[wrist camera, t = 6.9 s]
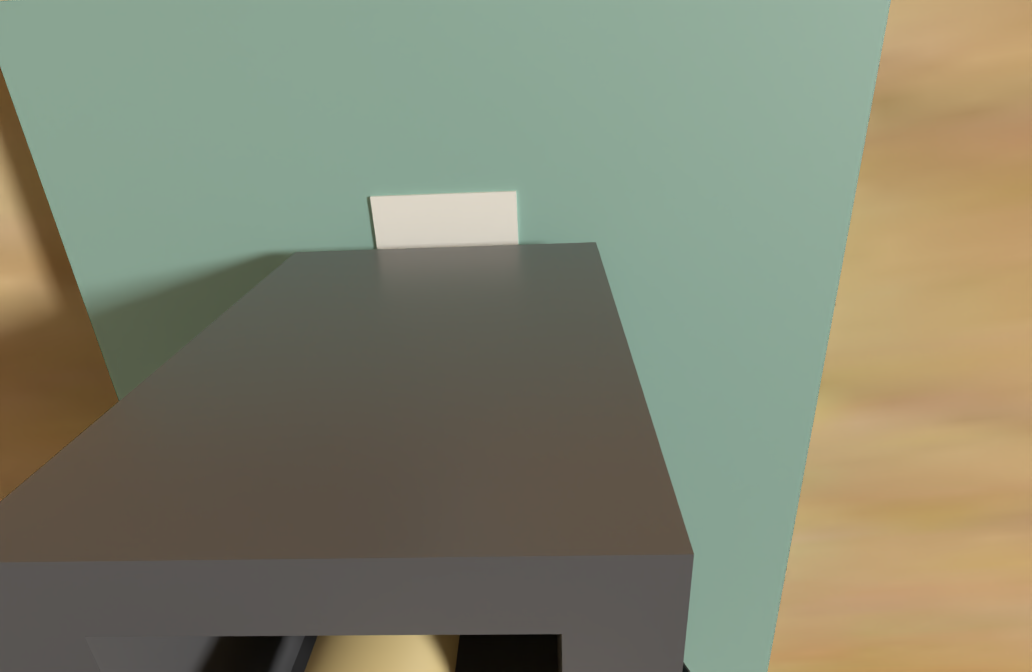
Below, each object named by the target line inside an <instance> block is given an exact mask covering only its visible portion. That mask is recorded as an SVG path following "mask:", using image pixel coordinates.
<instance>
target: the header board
mask: <svg viewBox="0 0 1032 672" xmlns="http://www.w3.org/2000/svg"><path fill="white" fill-rule="evenodd" d="M890 2H891V0H8V1H0V67H1V70H2V73H3V76H4V79H5V82H6V84H7V87H8V90H9V93H10V96H11V98H12V101H13V104H14V107H15V110H16V113H17V115H18V118H19V121H20V124H21V127H22V129H23V132H24V135H25V138H26V141H27V144H28V146H29V149H30V152H31V155H32V158H33V160H34V163H35V166H36V169H37V172H38V175H39V177H40V180H41V183H42V186H43V189H44V191H45V194H46V197H47V200H48V203H49V205H50V208H51V211H52V214H53V217H54V220H55V222H56V225H57V228H58V231H59V234H60V236H61V239H62V242H63V245H64V248H65V251H66V253H67V256H68V259H69V262H70V265H71V267H72V270H73V273H74V276H75V279H76V282H77V284H78V287H79V290H80V293H81V296H82V298H83V301H84V304H85V307H86V310H87V313H88V315H89V318H90V321H91V324H92V327H93V329H94V332H95V335H96V338H97V341H98V344H99V346H100V349H101V352H102V355H103V358H104V360H105V363H106V366H107V369H108V372H109V374H110V377H111V380H112V383H113V386H114V389H115V391H116V394H117V397H118V400H119V401H120V400H121V399H122V398H124V397H125V396H126V395H127V394H128V393H130V392H131V391H132V390H133V389H134V388H135V387H137V386H138V385H139V384H140V383H141V382H143V381H144V380H145V379H146V378H147V377H148V376H150V375H151V374H152V373H153V372H154V371H156V370H157V369H158V368H159V367H160V366H161V365H163V364H164V363H165V362H166V361H167V360H169V359H170V358H171V357H172V356H173V355H174V354H176V353H177V352H178V351H179V350H180V349H182V348H183V347H184V346H185V345H186V344H187V343H189V342H190V341H191V340H192V339H193V338H195V337H196V336H197V335H198V334H199V333H200V332H202V331H203V330H204V329H205V328H206V327H208V326H209V325H210V324H211V323H212V322H213V321H215V320H216V319H217V318H218V317H219V316H221V315H222V314H223V313H224V312H225V311H227V310H228V309H229V308H230V307H231V306H232V305H234V304H235V303H236V302H237V301H238V300H240V299H241V298H242V297H243V296H244V295H245V294H247V293H248V292H249V291H250V290H251V289H253V288H254V287H255V286H256V285H257V284H258V283H260V282H261V281H262V280H263V279H264V278H266V277H267V276H268V275H269V274H270V273H271V272H273V271H274V270H275V269H276V268H277V267H279V266H280V265H281V264H282V263H283V262H284V261H286V260H287V259H288V258H289V257H290V256H292V255H293V254H294V253H295V252H317V251H347V250H377V249H406V248H436V247H466V246H496V245H526V244H556V243H586V242H596V244H597V247H598V250H599V253H600V257H601V260H602V263H603V266H604V269H605V272H606V276H607V279H608V282H609V285H610V288H611V292H612V295H613V298H614V301H615V304H616V307H617V311H618V314H619V317H620V320H621V323H622V327H623V330H624V333H625V336H626V339H627V342H628V346H629V349H630V352H631V355H632V358H633V362H634V365H635V368H636V371H637V374H638V377H639V381H640V384H641V387H642V390H643V393H644V397H645V400H646V403H647V406H648V409H649V412H650V416H651V419H652V422H653V425H654V428H655V431H656V435H657V438H658V441H659V444H660V447H661V451H662V454H663V457H664V460H665V463H666V466H667V470H668V473H669V476H670V479H671V482H672V486H673V489H674V492H675V495H676V498H677V501H678V505H679V508H680V511H681V514H682V517H683V521H684V524H685V527H686V530H687V533H688V536H689V540H690V543H691V546H692V549H693V552H694V561H693V571H692V581H691V591H690V601H689V611H688V621H687V631H686V641H685V651H684V661H683V662H684V663H685V665H686V666H687V667H688V669H689V670H690V672H767V671H768V665H769V660H770V654H771V649H772V643H773V638H774V633H775V627H776V622H777V616H778V611H779V605H780V600H781V594H782V589H783V584H784V578H785V573H786V567H787V562H788V556H789V551H790V546H791V540H792V535H793V529H794V524H795V518H796V513H797V507H798V502H799V497H800V491H801V486H802V480H803V475H804V469H805V464H806V459H807V453H808V448H809V442H810V437H811V431H812V426H813V420H814V415H815V410H816V404H817V399H818V393H819V388H820V382H821V377H822V372H823V366H824V361H825V355H826V350H827V344H828V339H829V333H830V328H831V323H832V317H833V312H834V306H835V301H836V295H837V290H838V285H839V279H840V274H841V268H842V263H843V257H844V252H845V246H846V241H847V236H848V230H849V225H850V219H851V214H852V208H853V203H854V198H855V192H856V187H857V181H858V176H859V170H860V165H861V159H862V154H863V149H864V143H865V138H866V132H867V127H868V121H869V116H870V111H871V105H872V100H873V94H874V89H875V83H876V78H877V72H878V67H879V62H880V56H881V51H882V45H883V40H884V34H885V29H886V24H887V18H888V13H889V7H890ZM459 636H460V635H338V636H317V639H316V642H315V644H314V647H313V650H312V652H311V655H310V658H309V660H308V663H307V666H306V669H305V671H304V672H455V668H456V660H457V652H458V644H459Z"/></svg>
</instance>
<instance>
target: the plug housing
mask: <svg viewBox="0 0 1032 672" xmlns="http://www.w3.org/2000/svg"><path fill="white" fill-rule="evenodd" d="M693 561H694V552H693V549H692V546H691V543H690V540H689V536H688V533H687V530H686V527H685V524H684V521H683V517H682V514H681V511H680V508H679V505H678V501H677V498H676V495H675V492H674V489H673V486H672V482H671V479H670V476H669V473H668V470H667V466H666V463H665V460H664V457H663V454H662V451H661V447H660V444H659V441H658V438H657V435H656V431H655V428H654V425H653V422H652V419H651V416H650V412H649V409H648V406H647V403H646V400H645V397H644V393H643V390H642V387H641V384H640V381H639V377H638V374H637V371H636V368H635V365H634V362H633V358H632V355H631V352H630V349H629V346H628V342H627V339H626V336H625V333H624V330H623V327H622V323H621V320H620V317H619V314H618V311H617V307H616V304H615V301H614V298H613V295H612V292H611V288H610V285H609V282H608V279H607V276H606V272H605V269H604V266H603V263H602V260H601V257H600V253H599V250H598V247H597V244H596V242H586V243H556V244H526V245H496V246H466V247H436V248H406V249H377V250H347V251H317V252H295V253H294V254H293V255H292V256H290V257H289V258H288V259H287V260H286V261H284V262H283V263H282V264H281V265H280V266H279V267H277V268H276V269H275V270H274V271H273V272H271V273H270V274H269V275H268V276H267V277H266V278H264V279H263V280H262V281H261V282H260V283H258V284H257V285H256V286H255V287H254V288H253V289H251V290H250V291H249V292H248V293H247V294H245V295H244V296H243V297H242V298H241V299H240V300H238V301H237V302H236V303H235V304H234V305H232V306H231V307H230V308H229V309H228V310H227V311H225V312H224V313H223V314H222V315H221V316H219V317H218V318H217V319H216V320H215V321H213V322H212V323H211V324H210V325H209V326H208V327H206V328H205V329H204V330H203V331H202V332H200V333H199V334H198V335H197V336H196V337H195V338H193V339H192V340H191V341H190V342H189V343H187V344H186V345H185V346H184V347H183V348H182V349H180V350H179V351H178V352H177V353H176V354H174V355H173V356H172V357H171V358H170V359H169V360H167V361H166V362H165V363H164V364H163V365H161V366H160V367H159V368H158V369H157V370H156V371H154V372H153V373H152V374H151V375H150V376H148V377H147V378H146V379H145V380H144V381H143V382H141V383H140V384H139V385H138V386H137V387H135V388H134V389H133V390H132V391H131V392H130V393H128V394H127V395H126V396H125V397H124V398H122V399H121V400H120V401H119V402H118V403H116V404H115V405H114V406H113V407H112V408H111V409H109V410H108V411H107V412H106V413H105V414H103V415H102V416H101V417H100V418H99V419H98V420H96V421H95V422H94V423H93V424H92V425H90V426H89V427H88V428H87V429H86V430H85V431H83V432H82V433H81V434H80V435H79V436H77V437H76V438H75V439H74V440H73V441H72V442H70V443H69V444H68V445H67V446H66V447H64V448H63V449H62V450H61V451H60V452H59V453H57V454H56V455H55V456H54V457H53V458H51V459H50V460H49V461H48V462H47V463H46V464H44V465H43V466H42V467H41V468H40V469H38V470H37V471H36V472H35V473H34V474H32V475H31V476H30V477H29V478H28V479H27V480H25V481H24V482H23V483H22V484H21V485H19V486H18V487H17V488H16V489H15V490H14V491H12V492H11V493H10V494H9V495H8V496H6V497H5V498H4V499H3V500H2V501H1V502H0V672H304V671H305V669H306V666H307V663H308V660H309V658H310V655H311V652H312V650H313V647H314V644H315V642H316V639H317V636H338V635H460V636H459V644H458V652H457V660H456V668H455V672H682V671H683V661H684V651H685V641H686V631H687V621H688V611H689V601H690V591H691V581H692V571H693Z"/></svg>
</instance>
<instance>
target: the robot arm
mask: <svg viewBox="0 0 1032 672" xmlns="http://www.w3.org/2000/svg"><path fill="white" fill-rule="evenodd" d="M682 672H690V670H689V669H688V667H687V666H686V665H685V663H684V662H683V671H682Z"/></svg>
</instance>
